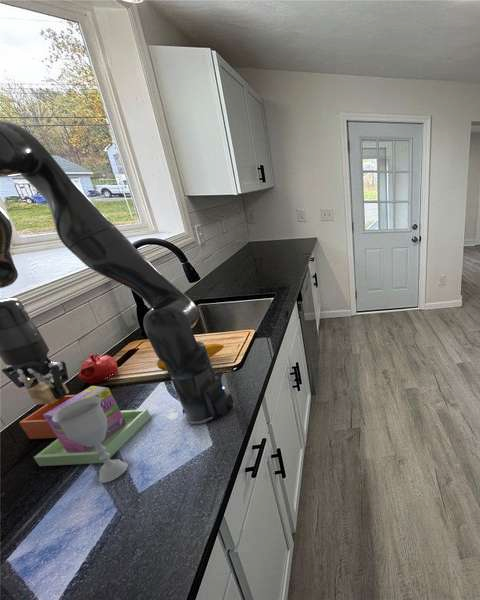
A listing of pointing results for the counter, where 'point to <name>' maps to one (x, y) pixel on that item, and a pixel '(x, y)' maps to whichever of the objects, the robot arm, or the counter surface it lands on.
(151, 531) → the counter surface
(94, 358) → the pomegranate
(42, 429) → the bin
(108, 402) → the box
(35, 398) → the block
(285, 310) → the counter surface
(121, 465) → the chalice
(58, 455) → the tray
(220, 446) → the counter surface
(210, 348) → the corn
